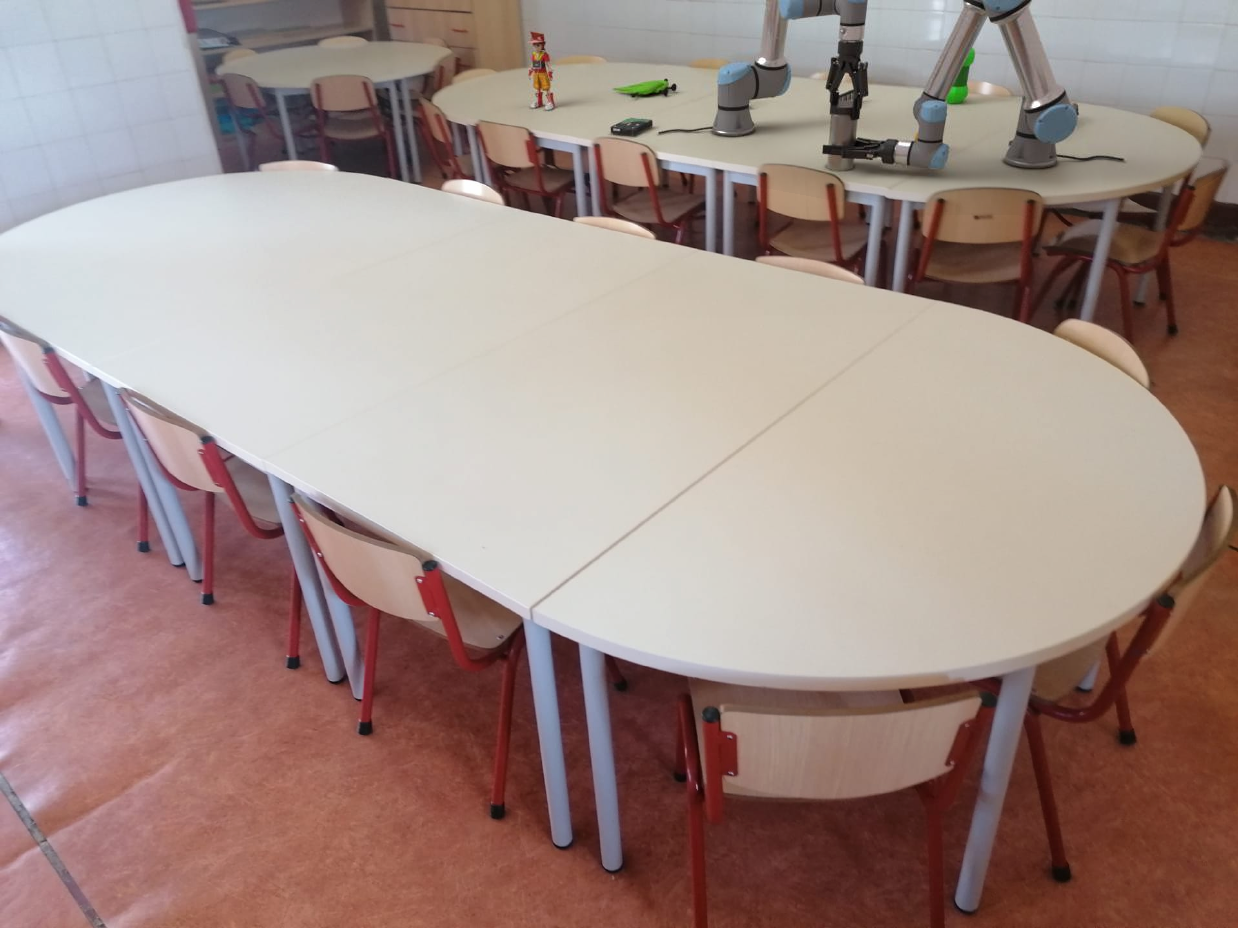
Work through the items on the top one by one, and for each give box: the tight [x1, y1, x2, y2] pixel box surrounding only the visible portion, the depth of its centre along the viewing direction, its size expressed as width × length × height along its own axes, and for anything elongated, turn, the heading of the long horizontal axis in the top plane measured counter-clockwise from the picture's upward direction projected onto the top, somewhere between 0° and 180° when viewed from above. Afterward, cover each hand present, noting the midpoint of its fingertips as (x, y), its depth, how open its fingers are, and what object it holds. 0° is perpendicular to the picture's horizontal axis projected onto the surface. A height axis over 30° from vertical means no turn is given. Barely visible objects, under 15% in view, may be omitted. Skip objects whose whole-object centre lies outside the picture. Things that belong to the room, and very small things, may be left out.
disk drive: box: [610, 117, 653, 136], centre depth 344 cm, size 10×3×15 cm
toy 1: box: [527, 31, 556, 111], centre depth 374 cm, size 12×9×30 cm
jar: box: [826, 113, 859, 171], centre depth 289 cm, size 8×8×19 cm
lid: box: [829, 101, 853, 115], centre depth 284 cm, size 9×9×2 cm
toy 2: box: [612, 78, 677, 99], centre depth 396 cm, size 28×5×30 cm
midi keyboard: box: [839, 89, 855, 101], centre depth 357 cm, size 18×1×5 cm, turn 138°
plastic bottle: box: [945, 47, 976, 104], centre depth 348 cm, size 10×10×25 cm
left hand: (844, 116), depth 286 cm, fingers closed on lid, 9 cm apart
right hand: (827, 145), depth 293 cm, fingers closed on jar, 8 cm apart
